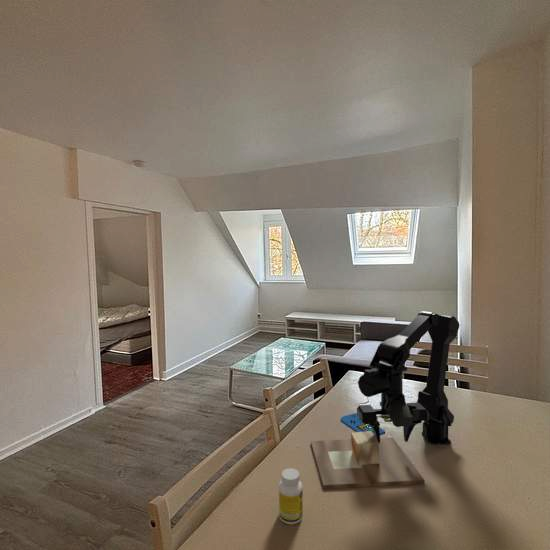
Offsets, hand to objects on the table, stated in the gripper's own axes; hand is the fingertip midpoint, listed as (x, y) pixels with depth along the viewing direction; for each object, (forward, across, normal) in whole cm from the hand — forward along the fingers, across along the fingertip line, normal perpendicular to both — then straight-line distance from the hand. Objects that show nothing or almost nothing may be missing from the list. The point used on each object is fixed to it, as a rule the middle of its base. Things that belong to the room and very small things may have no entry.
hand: (392, 442), depth 93 cm
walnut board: (+5, -9, 0) cm, 10 cm away
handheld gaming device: (+6, -3, +20) cm, 21 cm away
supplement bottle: (+6, -31, -18) cm, 36 cm away
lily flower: (+6, +11, +26) cm, 29 cm away
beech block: (+1, -5, 0) cm, 5 cm away
